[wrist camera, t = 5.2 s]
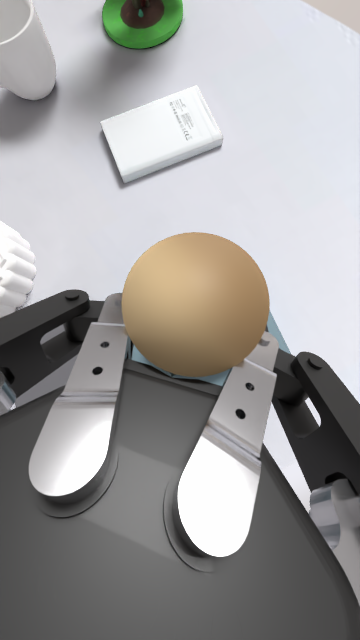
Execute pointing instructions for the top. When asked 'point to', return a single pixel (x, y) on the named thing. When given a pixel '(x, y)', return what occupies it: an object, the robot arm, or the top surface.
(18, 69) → the teacup
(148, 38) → the mushroom figurine
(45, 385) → the grey rubber coaster
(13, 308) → the mooncake
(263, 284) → the oak stopper
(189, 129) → the external hard drive
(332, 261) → the top surface
